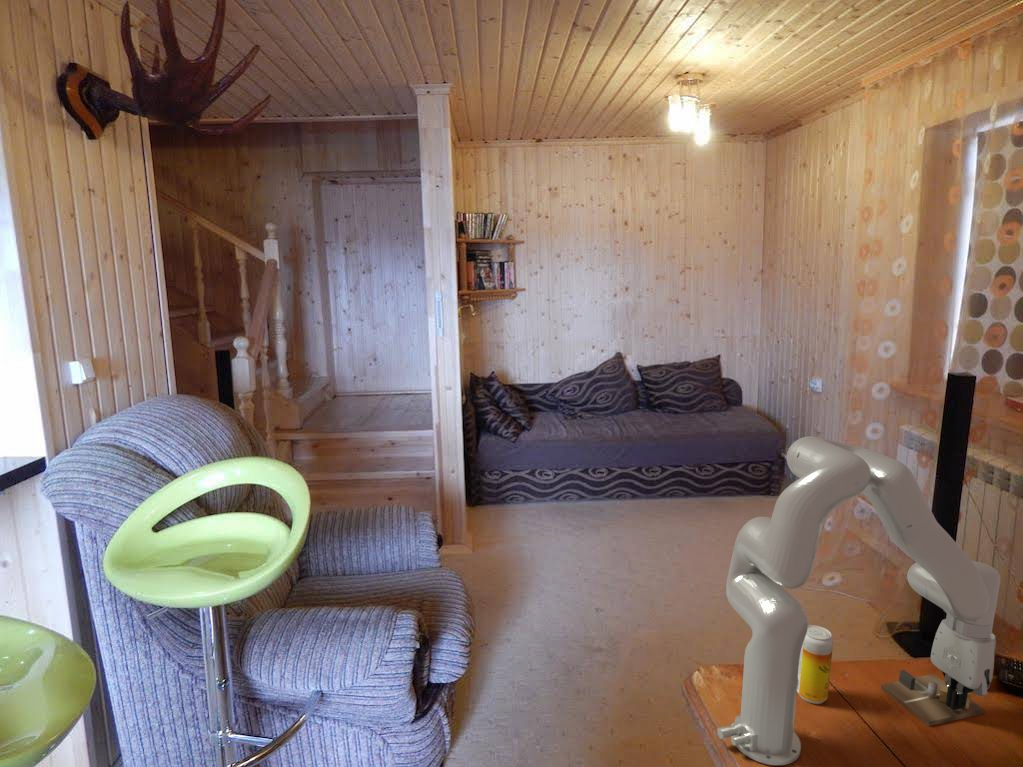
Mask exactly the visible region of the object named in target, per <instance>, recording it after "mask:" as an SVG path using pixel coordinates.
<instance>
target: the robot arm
mask: <svg viewBox="0 0 1023 767" xmlns="http://www.w3.org/2000/svg"><path fill="white" fill-rule="evenodd" d="M786 463H787V467H788V469H789V470H790V471H791V473H792V474H793V475H794V476H796V477H797V478H798V479H797V480H794V482H792V483H790V485H788V486H787V487H786V488H785V489H784V490H783V491H782V492H781V493H780V495H779V496H778V498H777V500H776V501H775V504H774V508H773V510H772V514H771V517H769V516H768V517H767V516H757V517H754V518H751V519H749V520H748V521H746V523H744V525H742V527H741V529H740V530H739V532H738V534H737V536H736V539H735V540H734V541H735V542H734V546H733V551H732V556H731V558H730V563H729V569H728V573H727V578H726V587H725V593H726V594H725V595H726V598H727V601H728V603H729V605H730V606H731V607H732V608H733V609H734V610H735V612H736V613H737V614H738V615H739V616H740V617H741V618H742V619H743V620H744V622H745V623H746V624H747V625H748V626H749V627H750V629H751V631H752V633H751V634H752V636H751V638H750V640H749V642H748V643H747V645H746V647H745V651H744V657H743V658H744V659H743V671H742V672H743V673H742V674H743V676H742V687H741V688H742V690H741V702H740V705H741V706H740V715H736V716H735V720H734V721H733V723H731V724H730V725H729V726H727V725H725V726H721V727H717V729H716V731H717V736H718V737H719V739H720V740H723V739H728V738H730V741H731V744H732V745H733V746H735V747H736V748H737V749H738V751H740V752H741V753H742V754H743V755H744V756H747V758H749V759H752V760H753V761H756V762H758V763H761V764H764V765H769V766H786V765H790V764H791V763H794V762H795V761H797V760H798V759H799V757H800V755H801V752H802V751H801V750H802V742H801V740H800V737H799V736H798V734H797V733H796V732H795V731H794V730H795V728H794V726H795V725H794V724H795V715H796V704H797V703H796V701H797V694H798V692H797V681H798V668H799V659H800V653H801V649H802V645H803V642H804V639H805V636H806V633H807V629H808V626H809V620H808V616H807V613H806V611H805V608H804V607H803V605H802V604H801V603H800V602H799V601H798V600H797V598H796V597H794V596H793V595H792V594H791V593H790V592H789V591H788V590H786V589H790V590H792V589H799V588H801V587H803V586H805V584H806V583H807V582H808V580H809V578H810V576H811V573H812V571H813V566H814V562H815V558H816V554H817V551H818V550H817V549H818V546H819V541H820V538H821V537H820V536H821V534H822V530H823V527H824V524H825V521H826V520H827V517H828V516H829V515H830V513H832V512H833V511H834V510H835V509H836V508H837V507H838V506H840V505H842V504H843V503H845V502H847V501H849V500H850V499H851V500H852V499H853V498H855V497H856V496H858V495H860V494H861V495H864V496H865V497H866V498H867V499H868V500H869V501H870V503H871V505H872V507H873V509H874V511H875V512H876V515H877V516H878V518H879V520H880V522H881V523H882V526H883V528H884V529H885V531H886V534H887V535H888V537H889V538H890V540H891V541H892V542H893V544H895V545H896V546H897V547H898V548H899V549H900V550H901V551H902V552H903V553H904V554H905V555H907V556H908V557H909V558H910V559H912V560H913V561H914V563H913V564H912V565H911V566H910V567H909V568H908V570H907V574H906V579H907V582H908V584H909V586H910V587H911V589H912V590H913V591H915V593H917V594H918V595H920V596H922V597H923V598H925V599H926V600H928V601H929V602H930V603H932V604H934V605H935V606H937V607H939V608H940V609H942V610H943V612H944V613H946V616H945V617H946V618H944V619H942V620H941V622H940V624H939V626H938V628H937V630H936V632H935V636H934V639H933V643H932V646H931V652H930V661H931V663H932V664H933V665H934V667H936V668H937V669H938V670H940V671H939V672H941V673H942V675H943V677H944V681H945V684H946V686H948V690H947V696H946V698H947V699H946V705H947V706H948V707H950V708H951V709H952V710H958V709H963V708H965V706H966V701H967V695H968V693H970V692H971V693H973V694H974V695H977V696H978V697H985V696H987V695H988V689H987V686H990V685H991V684H992V680H993V676H994V668H995V667H994V666H995V665H994V664H995V653H994V643H993V639H992V638H991V633H993V626H994V620H995V616H996V615H995V614H996V610H997V604H998V598H999V592H1000V586H1001V580H1002V579H1001V578H1002V577H1001V575H1000V573H999V571H998V570H997V569H996V568H995V567H993V566H991V565H990V564H986V563H983V562H982V561H981V562H979V561H977V560H976V561H975V560H972V559H971V557H969V556H968V554H967V553H966V552H965V551H964V550H963V549H962V548H961V546H960V545H959V544H958V543H957V542H956V541H955V540H954V539H953V537H951V535H950V534H949V533H948V532H947V531H946V530H945V529H944V528H943V526H941V524H940V523H939V522H938V521H937V519H936V517H935V515H934V513H933V512H932V509H931V507H930V505H929V504H928V501H927V498H926V497H925V496H924V494H923V491H922V489H921V487H920V485H919V483H918V481H917V480H916V477H915V475H914V474H913V472H912V470H911V469H910V468H909V467H908V466H907V465H905V464H904V463H902V462H901V461H899V460H897V459H894V458H892V457H889V456H887V455H885V454H882V453H880V452H877V451H875V450H872V449H868V448H867V447H866V448H865V447H861V446H857V445H852V444H848V443H843V442H839V441H834V440H831V439H828V438H823V437H819V436H811V435H810V436H809V435H808V436H803V437H801V438H798V439H797V440H795V441H794V442H793V443H792V444H791V445H790V447H789V448H788V450H787V452H786ZM785 588H786V589H785Z"/></svg>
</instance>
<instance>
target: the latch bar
mask: <svg viewBox="0 0 1023 767" xmlns="http://www.w3.org/2000/svg"><path fill="white" fill-rule="evenodd" d="M947 690H948V687H945V686H942V685H941V690H940V698H939V701H942V702H945V703H946V699H947V698H946V696H947ZM971 694H972V692H970V693H968V695H967V701H966V706H965V708H964V709H967V710H968V709H969V702H970V699H971Z"/></svg>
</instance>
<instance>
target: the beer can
mask: <svg viewBox="0 0 1023 767" xmlns="http://www.w3.org/2000/svg"><path fill="white" fill-rule="evenodd" d="M833 648H834V638H833V636H832V632H830V630H829V629H827V628H825V627H823V626H819V625H815V624H808V629H807V633H806V636H805V639H804V642H803V645H802V649H801V653H800V659H799V668H798V681H797V694H798V695H799V697H800V698H801V699H803V701H805V702H807V703H810V704H814V705H820V704H823V703H824V702H826V701H827V700H828V698H829V690H830V689H829V688H830V680H831V668H832V658H833Z"/></svg>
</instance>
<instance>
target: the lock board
mask: <svg viewBox="0 0 1023 767" xmlns="http://www.w3.org/2000/svg"><path fill="white" fill-rule="evenodd" d="M898 677H899V679H898V680H897V681H892V682H888V683H882V684H881V686H880V690H882V691H883V692H884V693H886V694H887V695H888V696H889V697H891V698H892V699H893V700H894V701H895V702H897V703H899V704H900V705H901V706H903V707H904V708H905V709H906V710H908V712H910V713H911V714H913V716H915V717H916V718H917V719H919V720H920V721H921V722H923V723H924V724H925V725H927V726H928V727H932V726H936V725H940V724H944V723H948V722H952V721H953V722H954V721H957V720H958V721H959V720H962V719H965V718H970V717H974V716H979V715H983V714H985V708H983V707H982V705H980V704H978V703H976V702H975V701H974V700H972V699H971V698H970V702H969V709H968V710H967V709H964V708H963V709H958V710H952V709H951V708H950V707H948V706H947V705H946V703H945V702H942V701H939V698H940V690H941V685H942V686H945V687H948V686H946V684H945V680H943V679H942V678H940V677H939V676H937V675H936V674H934V673H930V674H926V675H921V676H917V677H914V676H913V675H912V674H911V673H909V672H907V671H906V670H904V669H901V670H899V676H898Z"/></svg>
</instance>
